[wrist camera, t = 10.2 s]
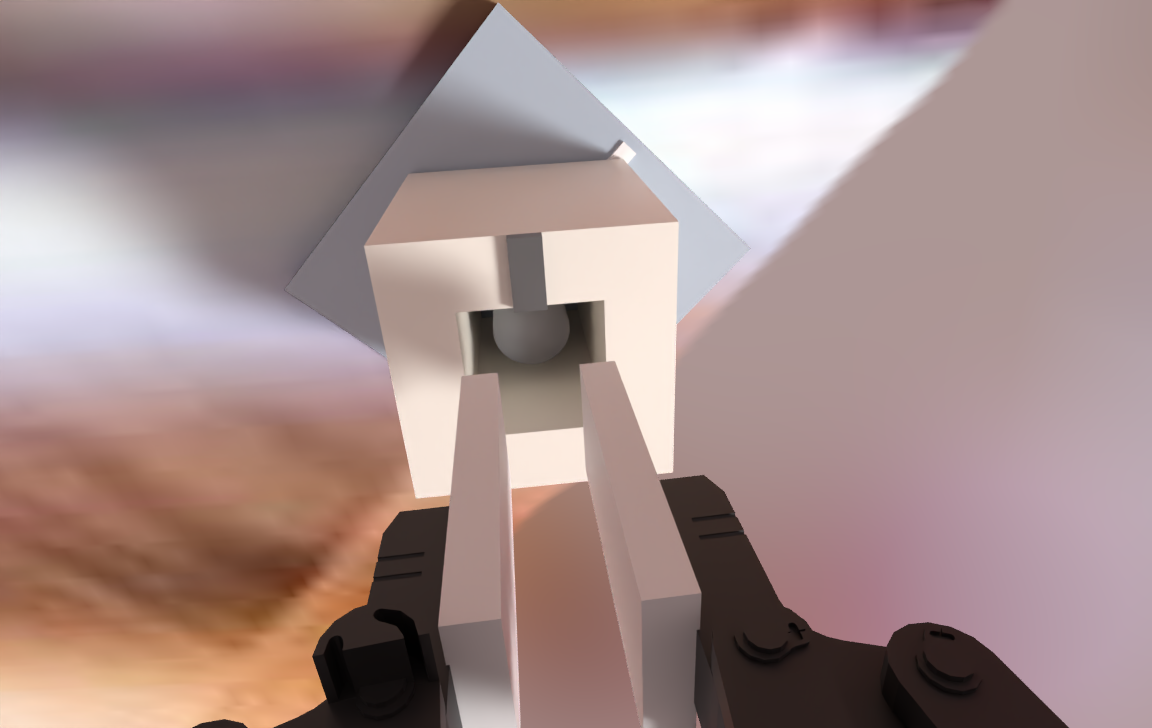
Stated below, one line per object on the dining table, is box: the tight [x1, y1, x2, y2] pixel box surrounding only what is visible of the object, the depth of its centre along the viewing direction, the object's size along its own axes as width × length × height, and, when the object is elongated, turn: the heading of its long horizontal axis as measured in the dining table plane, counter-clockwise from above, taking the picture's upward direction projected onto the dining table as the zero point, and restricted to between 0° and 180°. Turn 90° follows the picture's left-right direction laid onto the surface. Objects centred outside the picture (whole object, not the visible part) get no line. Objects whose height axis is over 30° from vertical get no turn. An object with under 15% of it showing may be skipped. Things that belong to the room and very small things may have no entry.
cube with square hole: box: [364, 159, 679, 498], centre depth 20 cm, size 7×7×8 cm
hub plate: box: [284, 3, 751, 364], centre depth 22 cm, size 12×12×7 cm
